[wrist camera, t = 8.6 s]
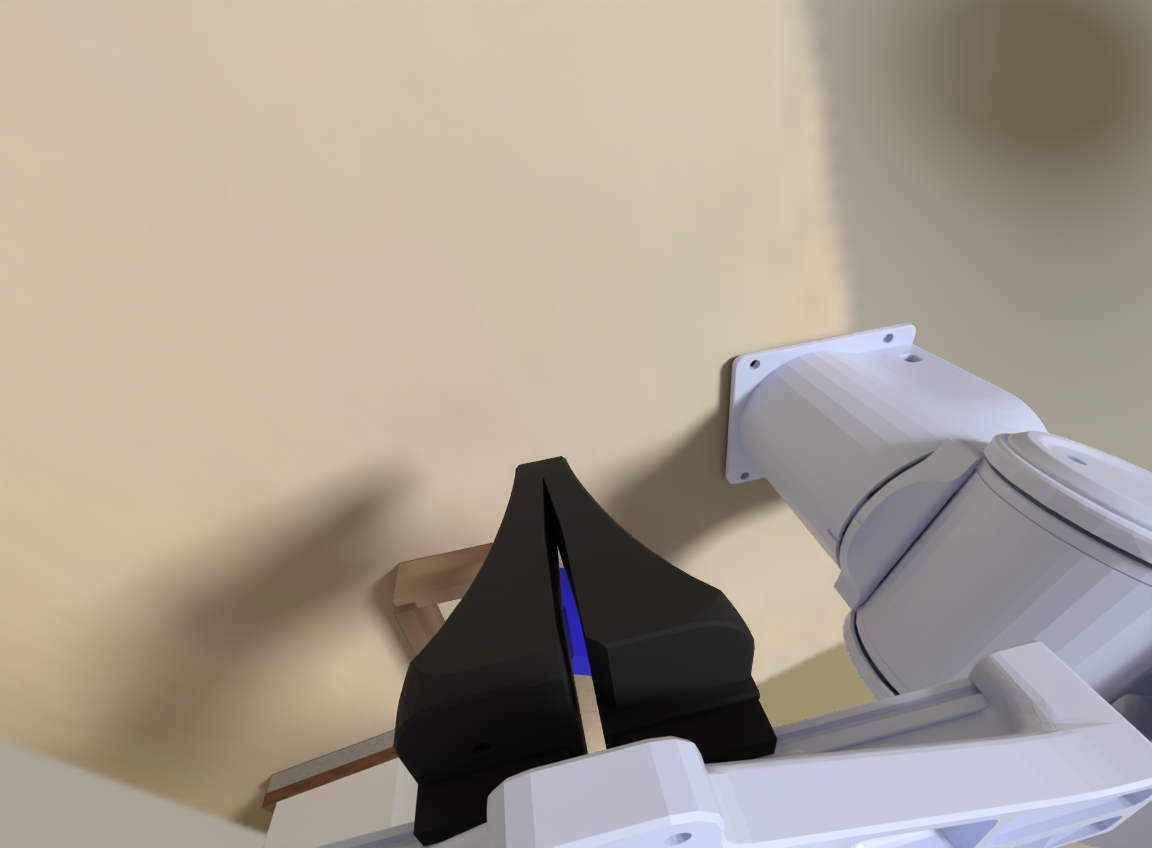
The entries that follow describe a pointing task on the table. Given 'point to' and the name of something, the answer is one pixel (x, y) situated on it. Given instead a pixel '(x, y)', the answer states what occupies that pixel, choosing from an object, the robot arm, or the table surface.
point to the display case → (340, 796)
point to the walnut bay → (433, 590)
